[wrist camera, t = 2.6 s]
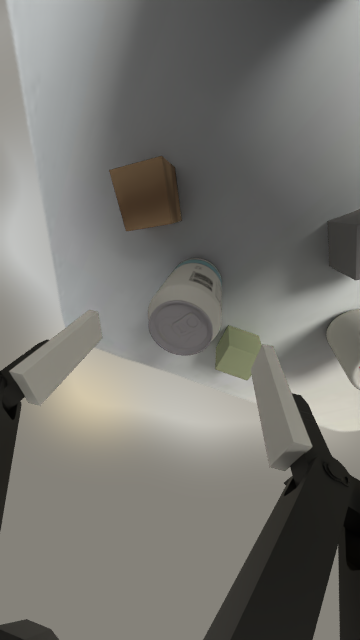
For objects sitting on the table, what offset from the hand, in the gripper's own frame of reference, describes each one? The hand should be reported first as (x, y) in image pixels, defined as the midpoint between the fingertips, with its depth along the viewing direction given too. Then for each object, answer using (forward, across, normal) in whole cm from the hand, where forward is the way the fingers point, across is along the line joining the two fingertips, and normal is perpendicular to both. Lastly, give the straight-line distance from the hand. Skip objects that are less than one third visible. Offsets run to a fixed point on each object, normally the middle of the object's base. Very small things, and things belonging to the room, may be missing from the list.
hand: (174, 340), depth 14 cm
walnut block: (+13, -6, +9) cm, 17 cm away
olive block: (+13, +8, -9) cm, 18 cm away
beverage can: (+13, 0, 0) cm, 13 cm away
